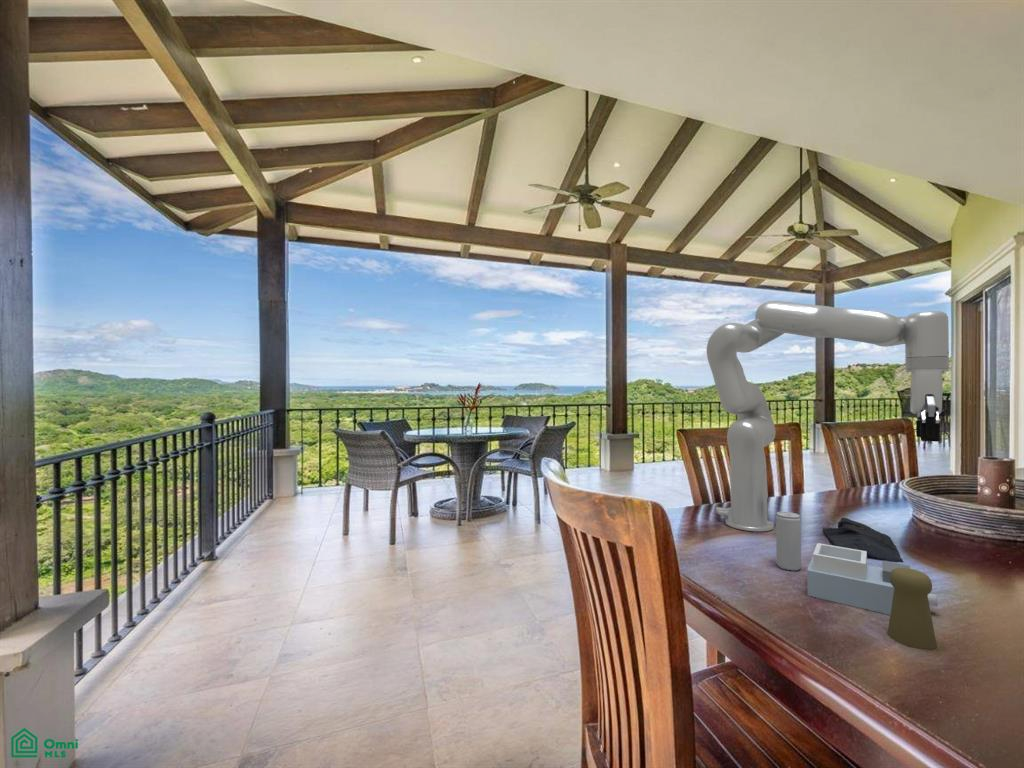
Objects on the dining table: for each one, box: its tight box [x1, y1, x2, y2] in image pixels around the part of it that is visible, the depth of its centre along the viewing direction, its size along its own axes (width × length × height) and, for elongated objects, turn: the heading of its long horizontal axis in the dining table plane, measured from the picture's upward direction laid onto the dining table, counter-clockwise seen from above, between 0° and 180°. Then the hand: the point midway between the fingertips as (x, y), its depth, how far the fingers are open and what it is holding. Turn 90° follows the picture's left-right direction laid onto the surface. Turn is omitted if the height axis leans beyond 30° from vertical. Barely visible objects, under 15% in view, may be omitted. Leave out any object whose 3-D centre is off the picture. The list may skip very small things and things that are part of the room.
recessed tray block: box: [806, 542, 939, 616], centre depth 88 cm, size 19×10×8 cm, turn 51°
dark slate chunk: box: [822, 517, 904, 563], centre depth 118 cm, size 15×22×5 cm
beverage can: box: [775, 511, 802, 572], centre depth 104 cm, size 5×5×12 cm
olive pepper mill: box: [887, 568, 938, 651], centre depth 74 cm, size 6×6×11 cm
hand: (927, 439), depth 107 cm, fingers open, 9 cm apart
